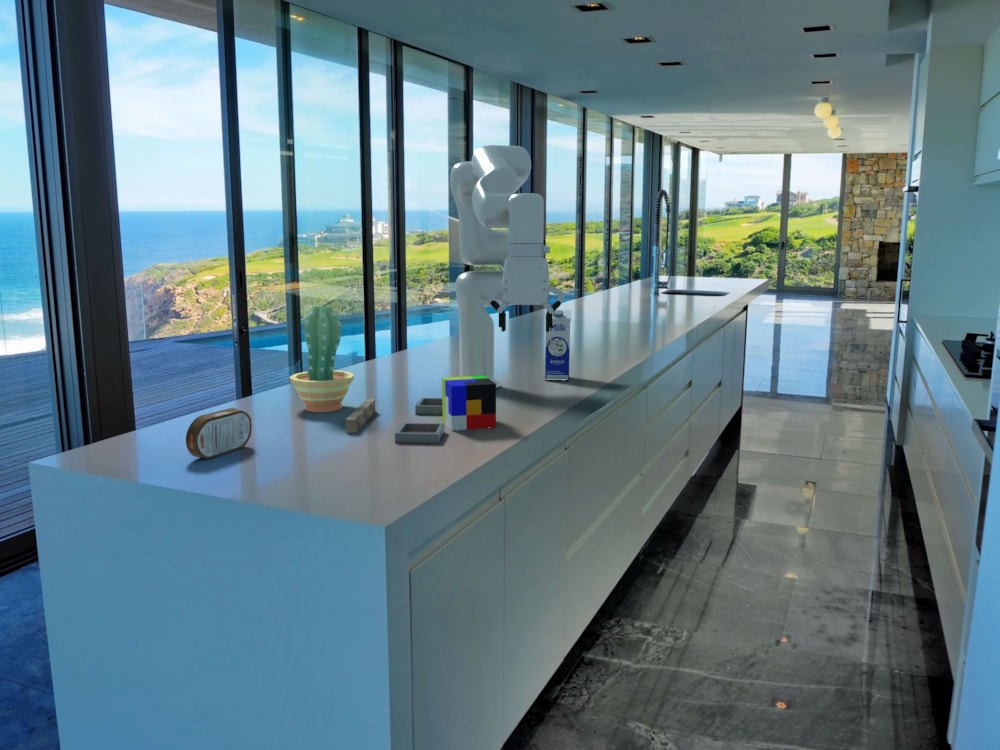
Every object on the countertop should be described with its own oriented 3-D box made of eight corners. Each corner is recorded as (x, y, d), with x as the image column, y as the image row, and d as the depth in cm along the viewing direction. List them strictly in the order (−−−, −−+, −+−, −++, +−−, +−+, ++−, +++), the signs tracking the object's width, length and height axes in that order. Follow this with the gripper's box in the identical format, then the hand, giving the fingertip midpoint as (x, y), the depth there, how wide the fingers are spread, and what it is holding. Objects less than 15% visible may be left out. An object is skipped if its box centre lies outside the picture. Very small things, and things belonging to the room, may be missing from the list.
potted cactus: (365, 403, 204) (363, 303, 200) (337, 417, 190) (333, 310, 185) (310, 399, 208) (306, 301, 204) (278, 412, 194) (273, 308, 189)
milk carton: (569, 377, 239) (571, 308, 235) (569, 381, 232) (570, 311, 228) (545, 376, 239) (546, 308, 235) (544, 381, 233) (545, 311, 229)
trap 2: (421, 405, 202) (421, 397, 201) (457, 406, 201) (457, 398, 201) (415, 414, 193) (415, 406, 192) (453, 414, 192) (453, 406, 192)
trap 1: (403, 431, 177) (402, 422, 177) (444, 432, 176) (444, 423, 176) (395, 442, 168) (394, 433, 168) (438, 443, 168) (438, 434, 167)
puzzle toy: (451, 431, 178) (451, 386, 176) (442, 420, 187) (442, 377, 186) (495, 428, 181) (496, 383, 179) (484, 417, 190) (484, 375, 188)
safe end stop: (367, 411, 195) (366, 399, 195) (375, 411, 195) (375, 399, 195) (346, 432, 176) (345, 419, 175) (355, 433, 176) (355, 419, 175)
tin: (244, 443, 168) (242, 403, 166) (255, 445, 166) (253, 405, 165) (185, 462, 155) (182, 419, 153) (197, 464, 153) (194, 421, 152)
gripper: (566, 251, 178) (565, 329, 182) (487, 251, 180) (488, 328, 183) (566, 252, 171) (565, 333, 174) (484, 252, 173) (484, 332, 176)
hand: (525, 331), depth 179 cm, fingers open, 9 cm apart
